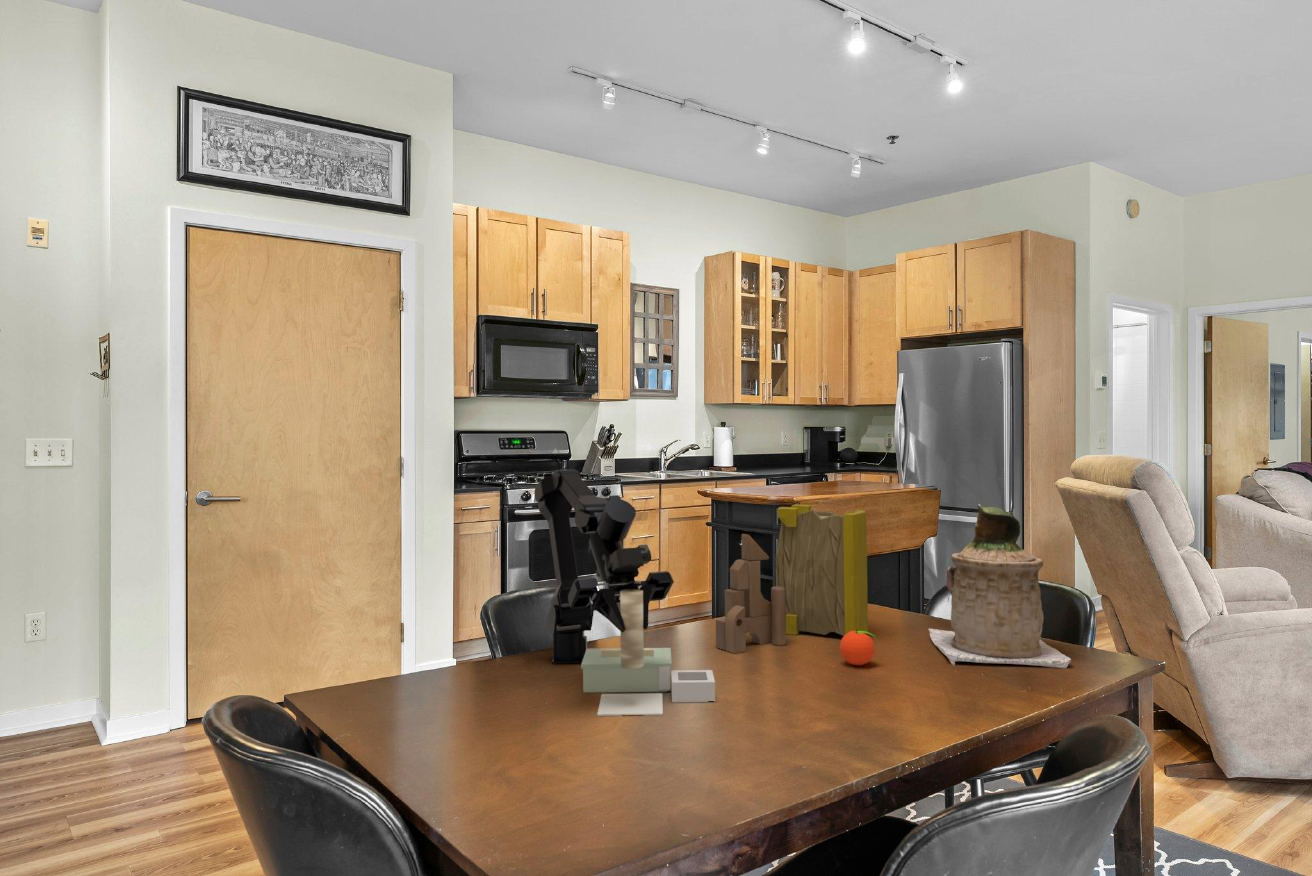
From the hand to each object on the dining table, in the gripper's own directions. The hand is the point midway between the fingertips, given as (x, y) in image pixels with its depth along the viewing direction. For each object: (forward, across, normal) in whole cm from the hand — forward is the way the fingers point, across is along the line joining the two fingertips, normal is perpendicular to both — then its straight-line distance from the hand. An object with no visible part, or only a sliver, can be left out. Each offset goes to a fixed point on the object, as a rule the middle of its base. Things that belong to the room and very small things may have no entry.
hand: (635, 629), depth 142 cm
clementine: (+7, +52, +12) cm, 53 cm away
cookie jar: (+11, +84, +8) cm, 85 cm away
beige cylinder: (+4, 0, +6) cm, 7 cm away
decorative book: (-11, +62, +30) cm, 70 cm away
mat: (+9, 0, +10) cm, 14 cm away
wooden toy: (-9, +40, +28) cm, 50 cm away
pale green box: (+3, +6, +16) cm, 18 cm away
